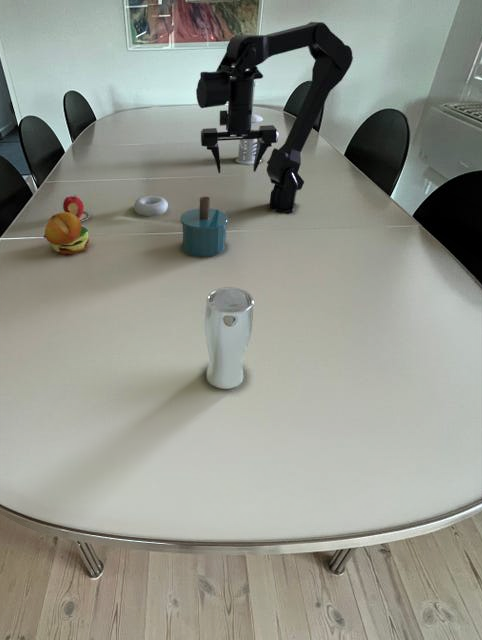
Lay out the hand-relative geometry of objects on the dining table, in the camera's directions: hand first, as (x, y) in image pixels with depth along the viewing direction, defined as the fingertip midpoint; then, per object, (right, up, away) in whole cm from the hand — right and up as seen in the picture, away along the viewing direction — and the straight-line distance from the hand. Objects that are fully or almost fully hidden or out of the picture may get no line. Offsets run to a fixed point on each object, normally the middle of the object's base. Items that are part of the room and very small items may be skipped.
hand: (236, 172), depth 107 cm
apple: (-45, -9, +11) cm, 47 cm away
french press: (+11, +26, +47) cm, 55 cm away
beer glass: (-8, -52, -40) cm, 66 cm away
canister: (-9, -21, -5) cm, 24 cm away
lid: (-9, -16, -10) cm, 21 cm away
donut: (-23, -6, +13) cm, 27 cm away
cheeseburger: (-43, -21, -3) cm, 48 cm away
